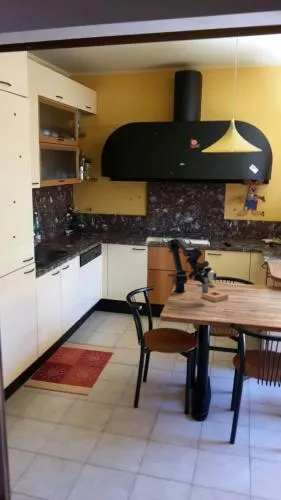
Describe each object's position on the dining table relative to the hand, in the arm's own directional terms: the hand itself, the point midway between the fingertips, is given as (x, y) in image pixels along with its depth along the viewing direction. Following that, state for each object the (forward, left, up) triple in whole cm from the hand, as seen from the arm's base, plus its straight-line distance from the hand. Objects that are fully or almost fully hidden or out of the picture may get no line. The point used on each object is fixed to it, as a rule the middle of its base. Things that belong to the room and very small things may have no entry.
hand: (206, 283), depth 265 cm
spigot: (-1, 0, -7) cm, 7 cm away
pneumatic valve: (-30, +34, -14) cm, 47 cm away
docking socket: (-4, +13, -13) cm, 19 cm away
